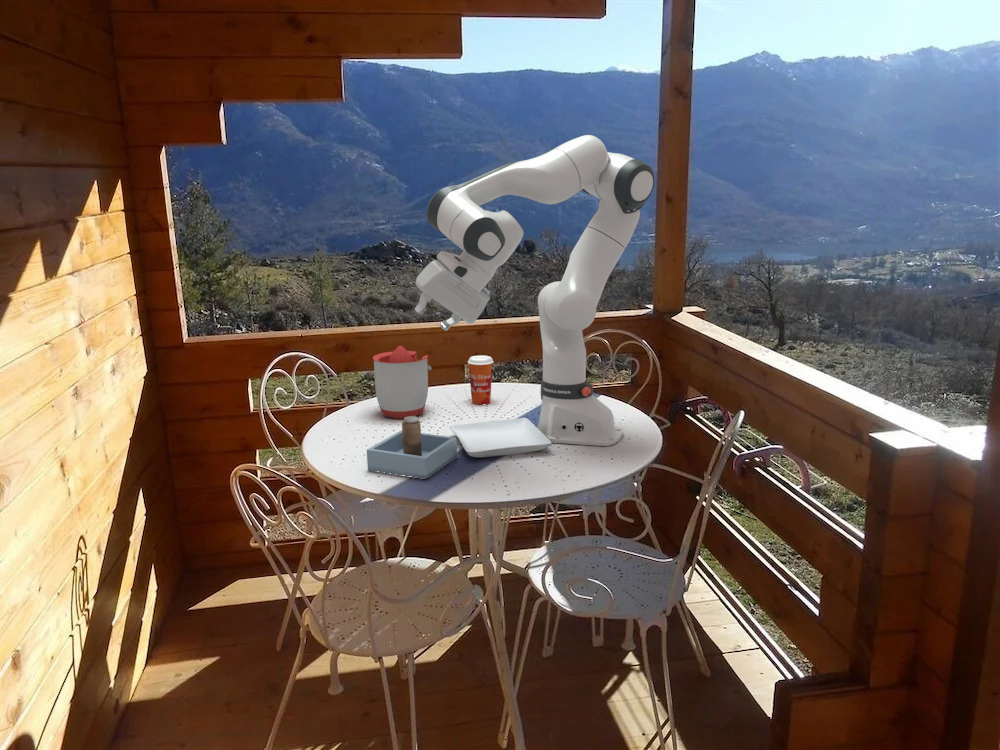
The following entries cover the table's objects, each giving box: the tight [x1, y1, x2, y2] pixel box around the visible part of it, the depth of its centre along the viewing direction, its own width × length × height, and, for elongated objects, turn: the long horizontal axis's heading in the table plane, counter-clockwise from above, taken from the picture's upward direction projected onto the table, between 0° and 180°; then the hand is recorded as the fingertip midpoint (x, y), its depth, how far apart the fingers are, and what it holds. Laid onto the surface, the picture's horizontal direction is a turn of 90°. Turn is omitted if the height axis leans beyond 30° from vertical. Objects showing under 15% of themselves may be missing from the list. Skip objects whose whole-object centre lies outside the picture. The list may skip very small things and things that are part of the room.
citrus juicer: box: [372, 345, 432, 420], centre depth 195 cm, size 16×17×20 cm
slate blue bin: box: [366, 429, 458, 480], centre depth 157 cm, size 15×15×5 cm
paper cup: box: [467, 355, 495, 406], centre depth 206 cm, size 8×8×14 cm
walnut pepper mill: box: [401, 416, 422, 456], centre depth 156 cm, size 4×4×10 cm
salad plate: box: [449, 417, 552, 458], centre depth 170 cm, size 21×21×3 cm
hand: (430, 320), depth 157 cm, fingers open, 8 cm apart
